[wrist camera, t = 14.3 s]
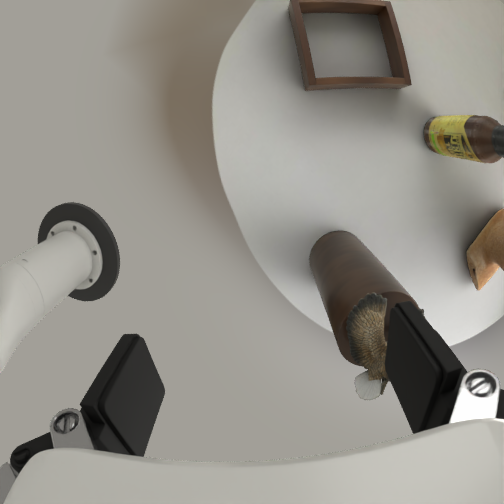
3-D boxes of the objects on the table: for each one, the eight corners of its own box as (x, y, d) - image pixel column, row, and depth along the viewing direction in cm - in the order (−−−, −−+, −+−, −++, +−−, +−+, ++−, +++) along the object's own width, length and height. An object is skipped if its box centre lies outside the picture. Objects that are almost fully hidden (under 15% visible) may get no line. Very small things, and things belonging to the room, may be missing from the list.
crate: (304, 90, 37) (309, 85, 33) (287, 8, 33) (290, -3, 29) (400, 88, 36) (411, 84, 32) (381, 10, 31) (390, 1, 28)
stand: (311, 288, 47) (337, 373, 29) (306, 234, 44) (337, 300, 26) (364, 280, 47) (414, 356, 28) (363, 227, 44) (425, 284, 25)
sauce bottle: (415, 138, 38) (501, 143, 20) (432, 108, 37) (518, 101, 18) (442, 163, 39) (528, 183, 21) (457, 134, 38) (544, 141, 19)
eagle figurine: (427, 351, 26) (432, 289, 22) (414, 411, 22) (422, 359, 17) (362, 345, 31) (351, 286, 26) (341, 400, 26) (325, 348, 22)
